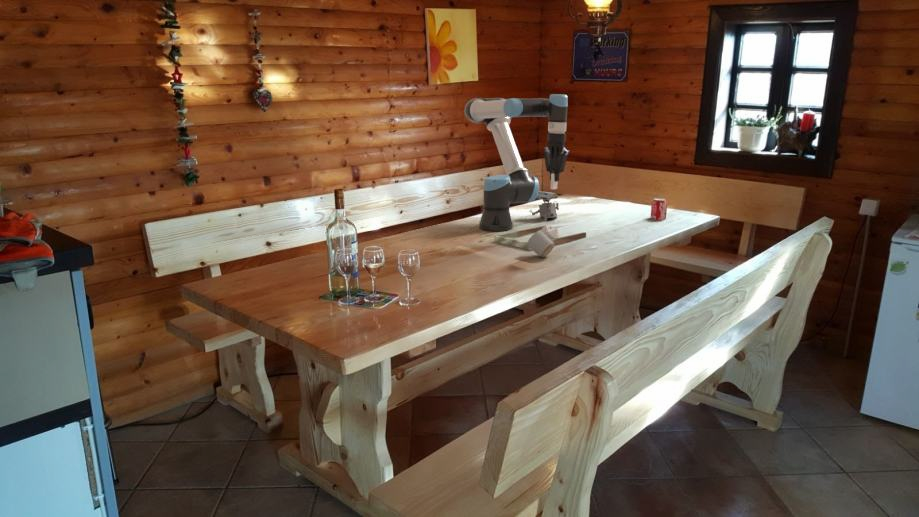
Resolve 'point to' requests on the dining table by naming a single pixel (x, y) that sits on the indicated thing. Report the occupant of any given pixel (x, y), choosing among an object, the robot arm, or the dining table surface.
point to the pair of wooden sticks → (510, 240)
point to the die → (550, 232)
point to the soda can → (658, 209)
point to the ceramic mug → (540, 244)
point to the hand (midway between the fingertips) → (553, 188)
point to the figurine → (547, 206)
